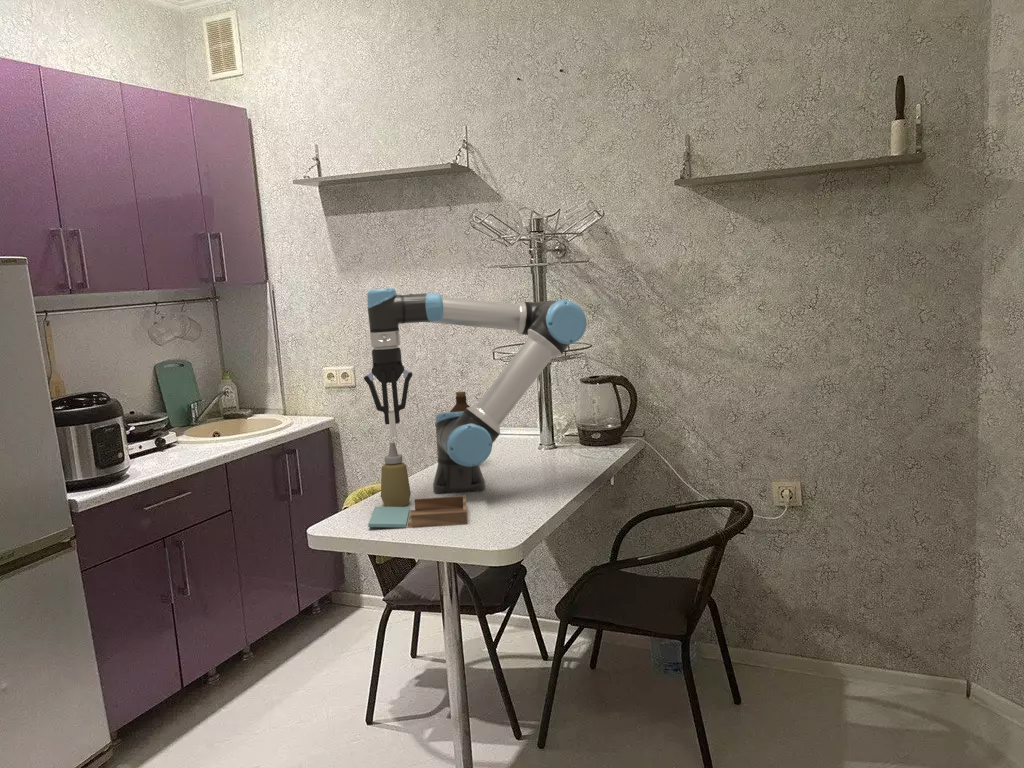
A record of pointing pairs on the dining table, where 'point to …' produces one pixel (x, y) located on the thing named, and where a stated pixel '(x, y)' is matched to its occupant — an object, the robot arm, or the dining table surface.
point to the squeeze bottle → (394, 480)
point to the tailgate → (389, 517)
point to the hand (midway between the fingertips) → (393, 435)
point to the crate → (438, 512)
